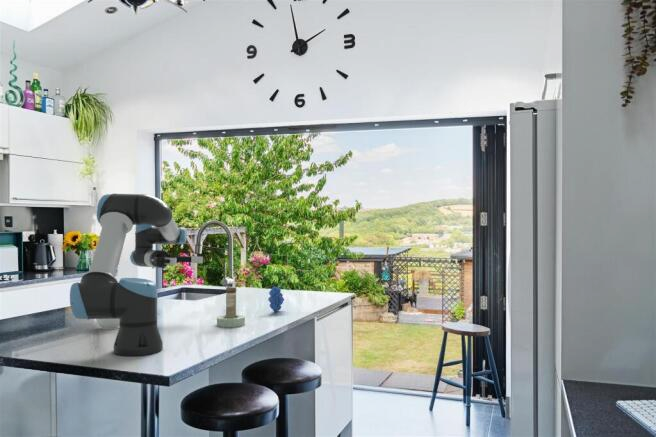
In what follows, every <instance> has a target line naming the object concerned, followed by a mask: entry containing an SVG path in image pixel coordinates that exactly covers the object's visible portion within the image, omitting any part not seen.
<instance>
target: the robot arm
mask: <svg viewBox="0 0 656 437" xmlns="http://www.w3.org/2000/svg"><path fill="white" fill-rule="evenodd" d="M96 208H97V209H96V220H97V223H98V224H99V225H100V227H101V231H100V233H99V236H98V240H97V244H96V246H95V250H94V254H93V255H92V256H93V257H92V260H91V263H90V266H89V270H88V271H87V272H86V273H84V274H83V275H82V276H81V279H80V282H78V281H77V282H74V283H72V284H71V286H70V290H69V305H70V310H71V313H72V315H73V317H74V318H75V319H79V320H96V319H119V320H120V326H119V327H118V332H117V334H116V337H115V341H114V344H113V353H114V354H115V355H118V356H128V357H134V356H136V357H137V356H146V355H152V354H156V353H158V352H159V353H160V352H161V351H163V346H164V343H163V340H162V337H161V333H160V331H159V330H160V329H159V327H158V297H159V295H158V286H157V284H156V282H155V281H153V280H150V279H145V278H140V277H139V278H137V277H122V278H120V279H119V281H118V280H117V278H116V275H117V272H118V268H119V264H120V261H121V257H122V256H121V255H122V252H123V249H124V244H125V240H126V236H127V234H128V233H130V232H131V231H132V229H133V227H134V225H135V232H134V236H135V238H134V243H135V246H134V250H133V251H132V252H131V254H130V255H129V256H130V257H129V258H130V262H131V264H132V265H134V266H138V267H142V268H143V267H146V268H151V269H155V268H157V269H163V268H166V267H168V265H170V266H177V264H179V263H192V264H193V263H194V264H204V257H203V256H196V255H195V254H192V255H177V254H173V255H172V254H169V253H168V252H167V251H166V250H162V249H161V250H159V249H154V245H184V244H186V243H187V239H188V238H187V236H188V235H187V229H186V228H185V227H183V226H182V227H181V226H178V224H177V223H176V222H175V219H174V218H173V211H172V209H171V207H170V206H169V205H168V204H167V202H165V201H163V200H161V199H160V198H158V197H156V196H154V195H151V194H143V193H140V194H139V193H137V194H136V193H132V194H131V193H108V194H104V195H102V196H101V197H100V199H99V201H98V203H97V207H96Z"/></svg>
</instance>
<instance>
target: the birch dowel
mask: <svg viewBox="0 0 656 437" xmlns="http://www.w3.org/2000/svg"><path fill="white" fill-rule="evenodd" d="M225 315H226V318H236V315H237V287H236V286H226V287H225Z"/></svg>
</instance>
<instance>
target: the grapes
mask: <svg viewBox="0 0 656 437" xmlns="http://www.w3.org/2000/svg"><path fill="white" fill-rule="evenodd" d="M281 291H282V290H281V289H280V287H278V286H276V285H273V286H272V288H271V290H270V291H269V292H268V294H269V297H268V302H269V308H270V309H271V310H272V311H273V312H274V313H277V312H278V311H280V310H281V309H282V305H283V304H284V301H285V298H284V297H283V296H284V294H283V293H282V292H281Z"/></svg>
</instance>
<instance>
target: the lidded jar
mask: <svg viewBox="0 0 656 437" xmlns="http://www.w3.org/2000/svg"><path fill="white" fill-rule="evenodd" d="M95 320H96V324H97V325H98V326H99V327H100V328H101V329H102V330H116V329H119V328H120V320H119V319H95Z"/></svg>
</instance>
